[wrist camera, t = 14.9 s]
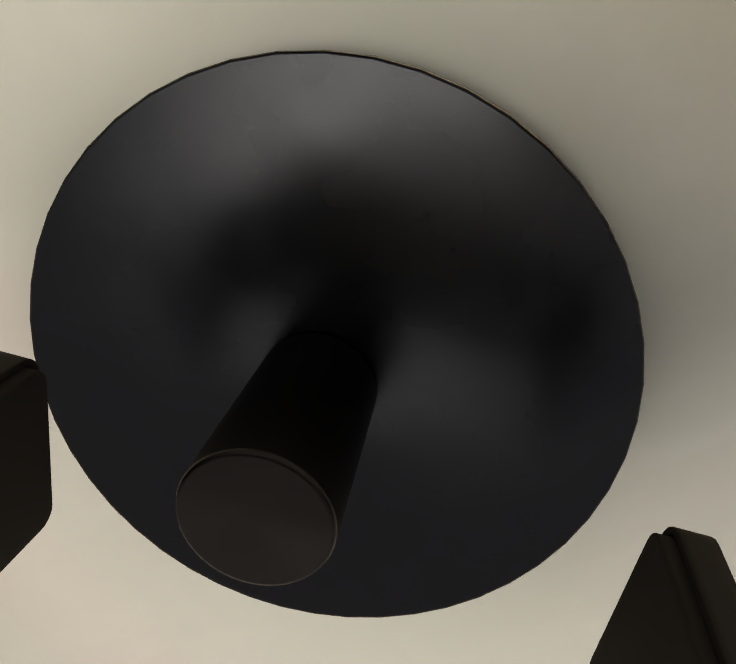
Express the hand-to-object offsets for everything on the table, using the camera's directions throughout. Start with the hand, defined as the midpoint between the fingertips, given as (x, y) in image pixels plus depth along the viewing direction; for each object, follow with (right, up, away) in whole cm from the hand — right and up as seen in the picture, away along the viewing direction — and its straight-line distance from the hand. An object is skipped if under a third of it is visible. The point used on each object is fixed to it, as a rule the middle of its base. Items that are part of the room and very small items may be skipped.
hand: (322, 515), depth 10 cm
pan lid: (0, +2, +5) cm, 5 cm away
